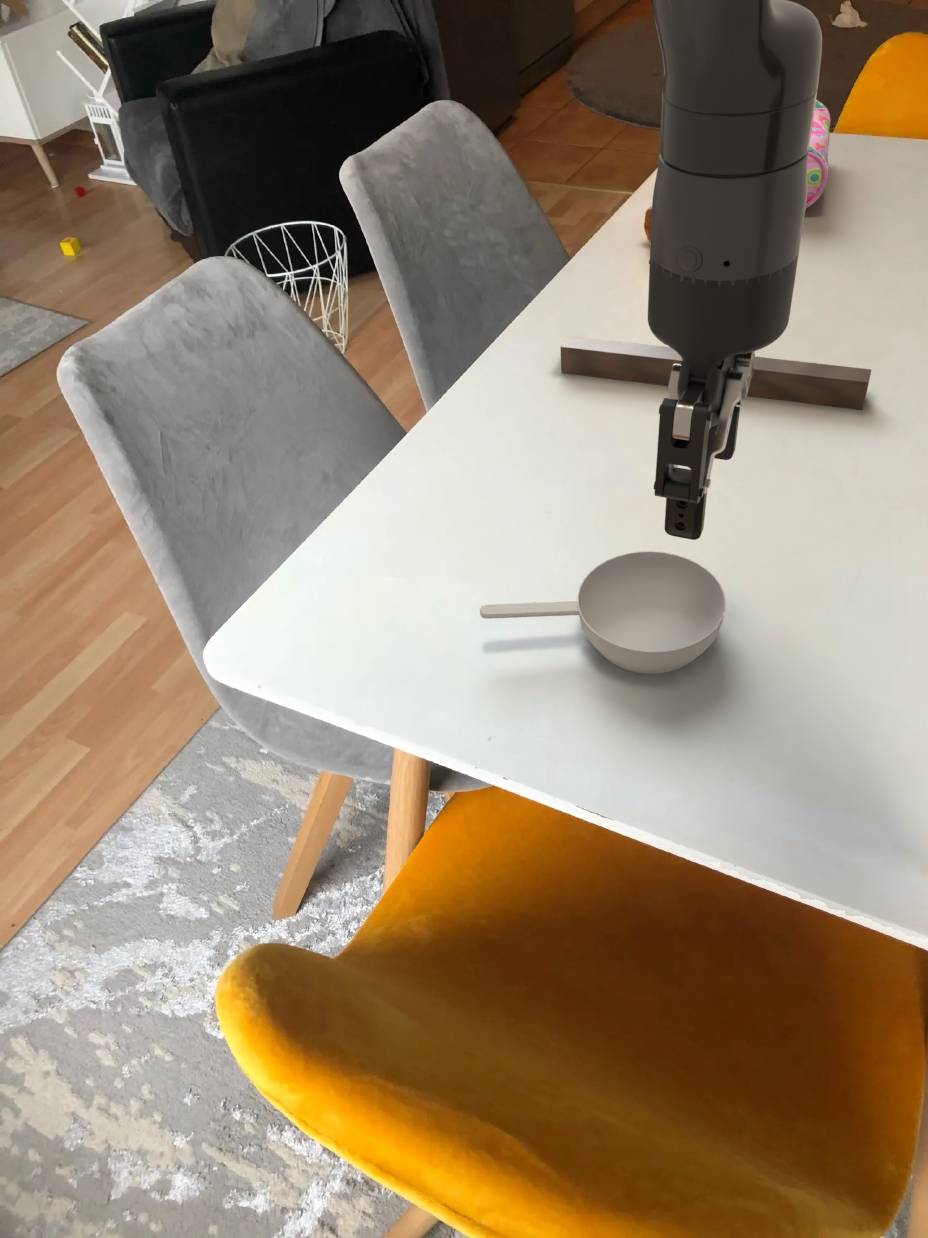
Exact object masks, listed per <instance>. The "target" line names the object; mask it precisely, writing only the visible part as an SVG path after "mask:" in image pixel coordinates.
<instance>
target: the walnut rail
mask: <svg viewBox="0 0 928 1238" xmlns="http://www.w3.org/2000/svg"><path fill="white" fill-rule="evenodd" d="M681 362H682V357H681V356H680V355H679V354H678V353H677V352H676V351H675V350H674V349H672V348H671V347H669V346H665V345H664V346H663V345H653V344H645V343H636V342H627V341H619V340H609V339H600V338H590V337H584V336H583V337H582V336H572V335H567V336H566V338H564V341H563V342H562V344H561V345H560V373H564V374H570V375H579V376H585V377H587V376H588V377H595V378H603V379H612V380H618V381H627V382H634V383H635V382H636V383H643V384H651V385H658V386H667V387H668V385H669V380H670V375H671V370H672V367H673V364H674V363H678V364H681ZM753 369H754V374H753V377H752V378H751V382H750V386H749V390H748V393H747V396H748V397H755V398H762V399H763V398H764V399H772V400H779V401H787V402H795V403H803V404H812V405H819V406H827V407H835V408H844V409H851V410H861V411H863V410H864V406H865V401H866V397H867V394H868V388H869V385H870V384H869V383H870V379H871V374H872V369H870V368H863V367H853V366H845V365H844V366H843V365H835V364H827V363H817V362H808V361H799V360H789V359H781V358H772V357H763V356H755V358H754V362H753Z"/></svg>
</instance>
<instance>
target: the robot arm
mask: <svg viewBox="0 0 928 1238" xmlns="http://www.w3.org/2000/svg"><path fill="white" fill-rule="evenodd" d="M650 6H651V11H652V15H653V21H654V24H655V29H656V34H657V38H658V39H657V40H658V44H659V47H660V53H661V59H662V67H663V68H662V69H663V70H662V81H661V82H662V83H661V104H660V105H661V106H660V108H661V109H660V128H659V129H660V130H659V149H658V153H659V154H658V163H657V168H656V169H657V171H656V176H655V181H654V187H653V193H652V194H653V195H652V203H651V206H652V219H651V242H650V249H649V260H650V264H649V269H648V270H649V271H648V272H649V273H648V297H647V324H648V327H649V330H650V331H651V333H652V334H653V336H654V337H655V338H656V339H657V340H659V342H660V343H662V344H663V345H664V346H665V345H666V346H667V347H671V348H672V349H674V350H675V351H676V352H677V353H678V354H679V355H680V356H681V357H682V362H681V364H678V363H674V364H673V367H672V370H671V375H670V380H669V385H668V386H667V389H668V392H669V394H670V398H669V397H668V398H667V397H663V400H662V402H661V403H660V405H659V408H658V415H659V419H658V420H659V423H658V434H657V435H658V436H657V448H656V449H657V451H656V452H657V453H656V462H655V463H656V465H655V466H656V467H655V480H654V483H653V490H654V496H655V497H659V498H665V512H664V513H665V514H664V531H665V533H666V534H667V535H669V536H670V537H675V538H682V539H687V540H692V541H695V540H698V539H700V538H701V537H702V534H703V531H704V528H705V527H704V526H705V519H706V518H705V517H706V507H707V497H708V496H707V495H708V489H710V487H711V483H712V479H711V475H712V470H713V465H714V460H715V459H716V460H722V461H729V460H731V459H733V455H734V454H735V452H736V446H737V437H738V431H739V430H738V429H739V421H740V413H741V406H743V404H744V401H746V400H747V393H748V390H749V386H750V382H751V378H752V377H753V374H754V369H753V362H754V358H755V357H756V352H757V351H759V350H762V349H764V348H766V347H768V346H770V345H771V344H773V343H775V342H776V341H777V340H778V339H779V338H780V337H781V336H782V335H783V334H784V332H785V331H786V329H787V328H788V325H789V321H790V316H791V315H790V314H791V308H792V302H793V295H794V288H795V282H796V275H797V268H798V262H799V254H800V248H801V241H802V236H803V228H804V221H805V215H806V209H807V208H806V200H807V163H808V152H809V151H808V149H809V145H810V139H811V132H812V125H813V118H814V111H815V104H816V100H817V97H818V96H817V95H818V90H819V89H818V88H819V82H820V81H819V80H820V74H821V65H822V56H823V32H822V29H821V26H820V23H819V20H818V18H817V17H816V16H815V14H814V13H813V12H812V11H811V10H809V8H807V7H805V6H804V5H801V4H800V3H797V2H794V1H791V0H650ZM678 466H681V467H678ZM682 467H683V468H682ZM684 467H687V468H684ZM688 468H689V469H688Z"/></svg>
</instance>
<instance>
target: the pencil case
mask: <svg viewBox="0 0 928 1238" xmlns="http://www.w3.org/2000/svg"><path fill="white" fill-rule="evenodd" d="M830 127H831V114H830V111H829V109H828V108H827V107H826V105H824V103H822V102H821V101H819V100H818V99H816V104H815V111H814V118H813V125H812V132H811V139H810V145H809V149H808V151H809V152H808V163H807V200H806V209H808V208H809V207H811V206H812V205H814V203H816V202H817V201H818V199H819V198H820V197H821V196H822V194H823V193H824V190H825V188H826V186H827V183H828V178H829V168H830V167H829V160H828V156H829V148H830V147H829V146H830V136H831V135H830Z"/></svg>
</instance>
